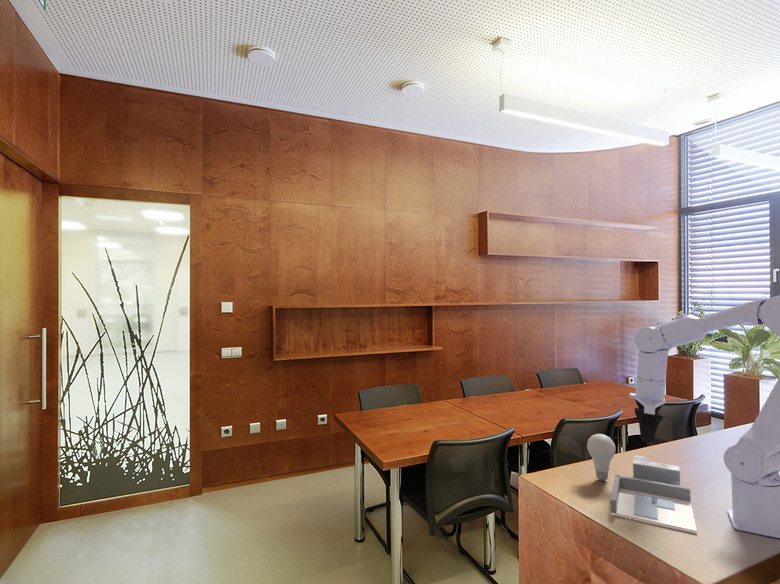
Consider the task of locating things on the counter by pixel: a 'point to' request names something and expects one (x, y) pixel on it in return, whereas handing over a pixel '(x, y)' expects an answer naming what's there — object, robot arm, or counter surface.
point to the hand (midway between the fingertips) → (646, 435)
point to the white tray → (653, 503)
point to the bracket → (655, 471)
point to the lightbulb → (601, 454)
